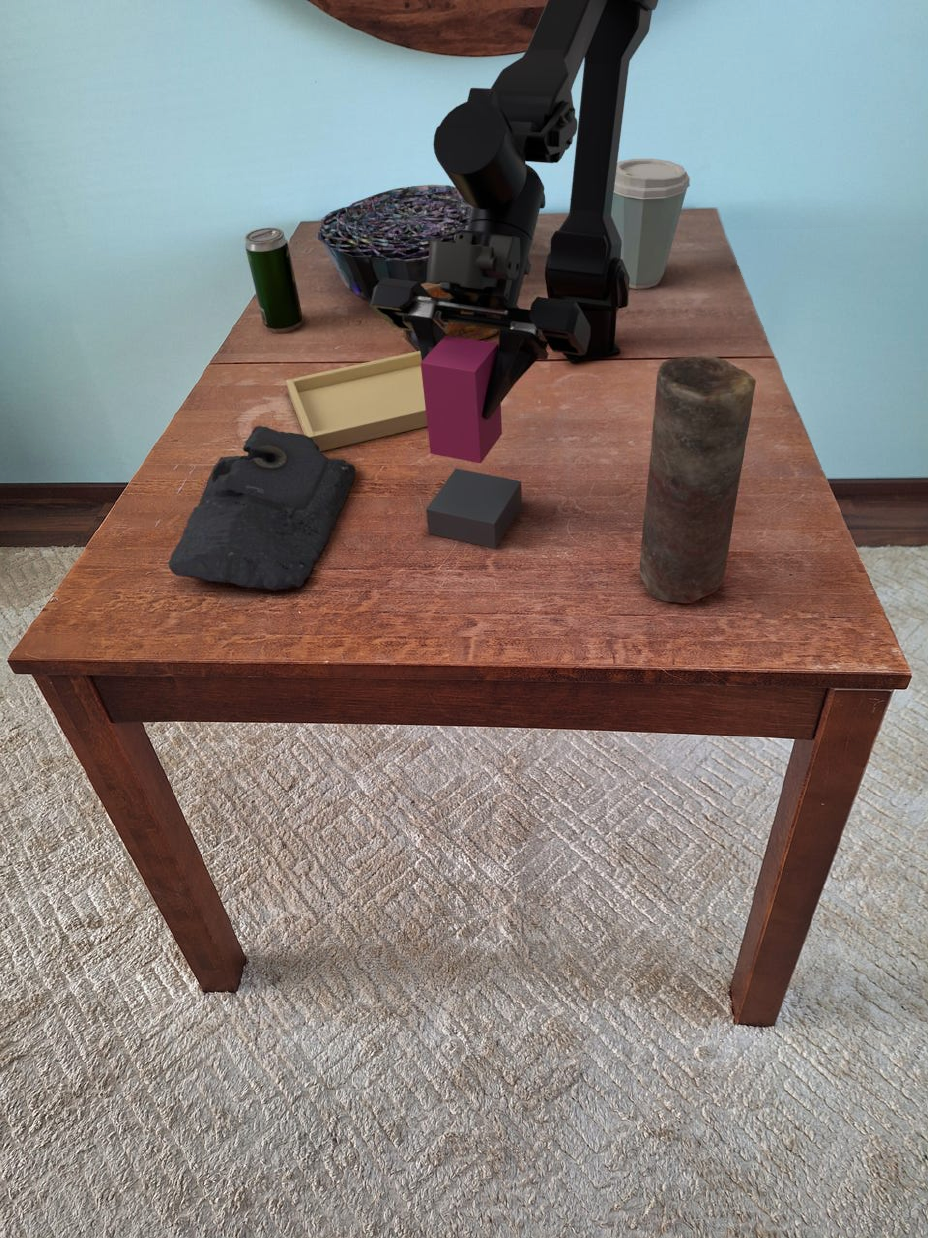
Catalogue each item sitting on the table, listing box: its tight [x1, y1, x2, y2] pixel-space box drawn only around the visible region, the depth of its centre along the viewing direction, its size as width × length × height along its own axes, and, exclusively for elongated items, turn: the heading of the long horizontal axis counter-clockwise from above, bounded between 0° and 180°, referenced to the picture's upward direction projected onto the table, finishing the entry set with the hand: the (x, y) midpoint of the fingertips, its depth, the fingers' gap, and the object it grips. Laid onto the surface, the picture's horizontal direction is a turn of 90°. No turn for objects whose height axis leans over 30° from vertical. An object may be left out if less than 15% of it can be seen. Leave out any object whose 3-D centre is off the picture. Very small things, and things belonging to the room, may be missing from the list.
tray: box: [285, 350, 428, 453], centre depth 100 cm, size 18×14×2 cm
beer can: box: [244, 227, 304, 334], centre depth 114 cm, size 5×5×12 cm
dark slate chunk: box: [168, 425, 357, 591], centre depth 85 cm, size 15×22×5 cm
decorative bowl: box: [317, 184, 472, 303], centre depth 124 cm, size 26×28×10 cm
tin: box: [399, 283, 500, 351], centre depth 108 cm, size 15×3×8 cm, turn 117°
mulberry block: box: [421, 336, 503, 464], centre depth 76 cm, size 5×5×9 cm
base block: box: [425, 468, 523, 549], centre depth 84 cm, size 7×7×3 cm
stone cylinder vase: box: [639, 355, 757, 604], centre depth 70 cm, size 8×7×20 cm
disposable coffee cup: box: [611, 158, 691, 290], centre depth 116 cm, size 11×11×15 cm
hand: (456, 413), depth 75 cm, fingers closed on mulberry block, 5 cm apart
